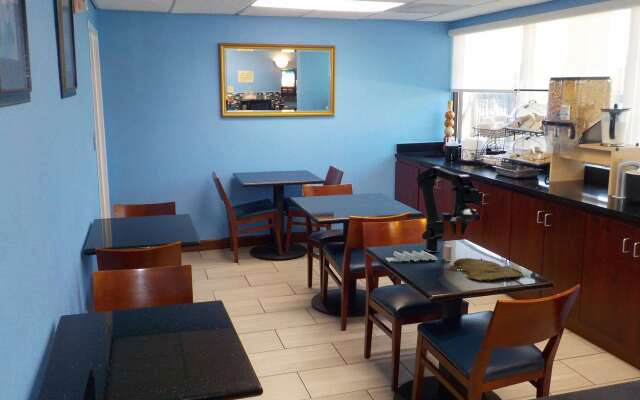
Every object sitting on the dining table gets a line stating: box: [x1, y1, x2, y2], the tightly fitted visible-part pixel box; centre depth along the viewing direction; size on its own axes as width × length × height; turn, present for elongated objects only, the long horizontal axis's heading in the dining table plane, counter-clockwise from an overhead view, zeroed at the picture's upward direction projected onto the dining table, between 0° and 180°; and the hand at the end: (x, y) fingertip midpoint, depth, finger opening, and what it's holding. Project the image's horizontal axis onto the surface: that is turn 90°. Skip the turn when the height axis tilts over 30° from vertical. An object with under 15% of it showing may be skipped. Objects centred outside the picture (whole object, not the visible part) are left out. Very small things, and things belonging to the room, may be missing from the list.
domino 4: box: [411, 250, 430, 261], centre depth 269 cm, size 4×2×7 cm
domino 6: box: [442, 244, 453, 261], centre depth 271 cm, size 4×2×7 cm, turn 13°
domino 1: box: [384, 257, 404, 262], centre depth 266 cm, size 4×2×7 cm
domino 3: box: [402, 250, 421, 262], centre depth 267 cm, size 4×2×7 cm
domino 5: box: [419, 250, 439, 261], centre depth 270 cm, size 4×2×7 cm
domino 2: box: [392, 250, 411, 262], centre depth 267 cm, size 4×2×7 cm
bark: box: [448, 257, 524, 282], centre depth 253 cm, size 28×4×30 cm
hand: (458, 234), depth 271 cm, fingers open, 3 cm apart
